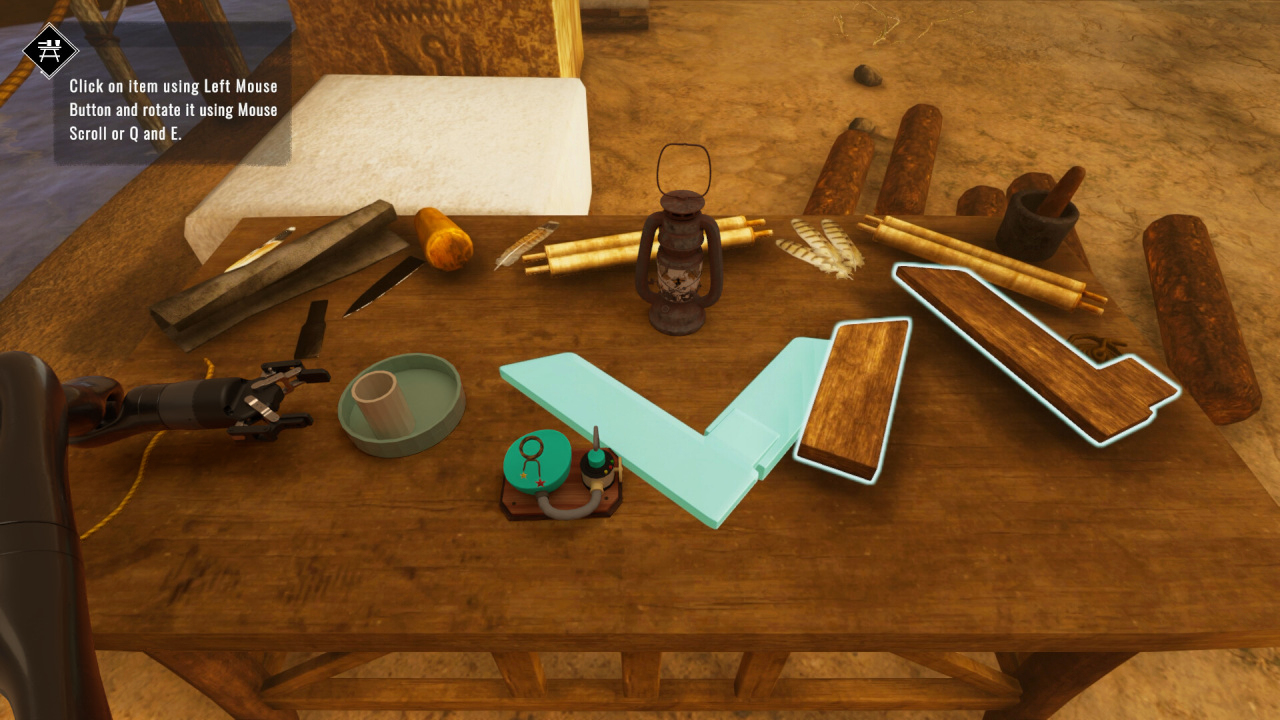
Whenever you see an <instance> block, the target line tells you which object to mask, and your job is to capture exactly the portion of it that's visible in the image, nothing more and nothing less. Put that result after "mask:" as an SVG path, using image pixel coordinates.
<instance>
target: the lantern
mask: <svg viewBox="0 0 1280 720" xmlns="http://www.w3.org/2000/svg"><path fill="white" fill-rule="evenodd" d="M669 146H682V147H683V146H687V147H698V148H701V149H703V151H704V152H705V153H706V157H707V161H708V167H709V169H708V170H709V178H708V185H707V187H706V190H705V192H704V193H703V194H700V193H699V192H696V191H693V190H691V189H690V190H689V189H675V190H670V191H667V192H665V191H663V190H662V188H661V186H660V182H659V170H660V163H661V159H662V155H663V154H664V153H663V152H664V151H665V149H666V148H668V147H669ZM655 174H656V176H655V177H656V186H657V188H658V190H659V192H660V193H661V194H662V195H661V197H660V199H659V204H660V207H661V208H662V210H660V211H655V212H652V213H651V214H648V216H647V218H645V221H644V224H643V226H642V231H641V234H640V239H639V240H640V241H639V245H638V252H637V258H636V263H635V264H636V265H635V271H634V272H635V274H634V285H635V291H636V292H637V295H638V296H639V297H640V299H642V300H643V301H644V302H646V303H648V304H651V306H650V307H649V309H648V320H649V322H650V324H651V326H652V327H653V329H655V330H657V331H658V332H660V333H662V334H664V335H668V336H673V337H674V336H675V337H682V336H689V335H691V334H694V333H696V332H698V331H699V330H700V329H702V327H703V326H704V324H705V322H706V318H707V317H706V316H707V315H706V309H708V308H710V307H712V306H714V305H716V304H717V303H718V302H719V301H720V299H721V297H722V294H723V288H724V260H723V259H724V258H723V249H722V248H723V247H722V237H721V231H720V227H719V223H718V222H717V221H716V219H714V217H713V216H712V215H711V216H710V215H708V214H705V213H702V210H703V208H704V207H705V205H706V200H705V198H704V197H705V196H707V194H708V193H709V191H710V188H711V183H712V161H711V156H710V154H709V151H708V149H707V147H705V146H704V145H702V144H700V143H699V144H698V143H688V142H669V143H666V144H665V145H664V146H663V147H662V148H661V150H660V152H659V156H658V159H657V165H656V173H655ZM657 230H658V234H657V242H658V244H659V245H658V248H657V252H656V265H657V266H656V274H657V280H656V279H655V278H653V277H652V278H650V280H649V268H650V260H651V258H652V257H651V256H652V251H653V246H654V241H655V236H656V233H657ZM704 233H705V235H704ZM705 237H706V244H707V253H708V263H709V275H710V282H709V283H710V284H709V285H710V286H709V290H708V292H707V294H705V295H700V294H699V293H698V291H699V290H700V289H701V288H702V287H703V286H702V284H701V276H702V272H703V264H704V263H703V262H704V257H705V256H704V252H703V251H704V250H703V247H702V246H703V244H704V243H705ZM689 273H691V274H692V275H693V276H694V279H693V278H692V277H690V276H688V275H689ZM664 275H667V276H668V278H670V279H666V278H665V277H664ZM674 281H676V282H674ZM681 281H682V282H681ZM655 283H656V287H658V290H659V291H658V292H656V291H652V290H651V289H650V287H649V285H652V286H654V285H655Z"/></svg>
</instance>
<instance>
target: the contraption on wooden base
mask: <svg viewBox="0 0 1280 720" xmlns="http://www.w3.org/2000/svg"><path fill="white" fill-rule="evenodd" d="M592 431H593V433H592V435H593V437H592V447H581V448H580V447H579V448H572V446H571V443H570V441H569V439H568V438H567V436H566V435H565V434H564V433H563V432H560V431H559V430H555V429H549V428H547V429H538V430H535V431H532V432H529V433H526V434H524V435H523V436H520V437H519V438H518V439H516V440H514V442H513V443H512V444H511V445H510V447H509V448H508V449H507V451H506V453H505V456H504V459H503V465H502V466H503V467H502V468H503V475H502V481H501V487H500V494H499V501H498V507H499V508H500V509H501V511H502V513H503V514H504V515H505V516H506V519H508V520H509V522H521V521H524V522H525V521H547V520H557V521H566V522H567V521H574V520H579V519H595V518H596V519H597V518H598V519H599V518H612V516H613V515H614V514H615V512H616V511H617V510H618V509H619V508H620V506H621V505H622V504H623V471H624V467H623V460H622V458H623V457H622V456H619V455H618V454H617V453H616V452H615V451H614V450H613V449H612V448H611V447H601V441H600V434H599V432H600V431H599V426H598V425H594V426H593V429H592Z"/></svg>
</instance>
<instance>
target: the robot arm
mask: <svg viewBox="0 0 1280 720" xmlns="http://www.w3.org/2000/svg"><path fill="white" fill-rule="evenodd" d="M260 368H261V370H262V372H261V375H260V376H258V377H255V378H253V379H247V378H243V377H240V376H230V377H229V376H228V377H214V378H213V377H212V378H200V379H198V378H197V379H188V380H187V379H186V380H182V381H177V382H165V383H164V382H163V383H149V384H148V383H147V384H141V385H138V386H135V387H132V388H131V389H130V390H129V391H127V393H126V394H125V390H124V387H123V385H122V384H121V382H119V381H118V380H117V379H115V378H112V377H109V376H104V375H85V376H79V377H74V378H71V379H67V380H66V381H65V380H64V381H63V382H61V380H60V379H59V377H58V375H57V374H56V372H55V371H54V369H53V368H52V366H50V365H49V363H47V362H46V361H45V360H43V359H42V358H41V357H39V356H37V355H36V354H33V353H30V352H28V351H22V350H9V351H1V352H0V695H2V697H4V698H5V700H7V702H8V704H9V706H10V708H11V710H12V714H13V717H14V720H114V717H113V715H112V711H111V708H110V704H109V701H108V696H107V694H106V691H105V687H104V684H103V679H102V674H101V672H100V667H99V662H98V658H97V653H96V648H95V643H94V633H93V628H92V623H91V615H90V609H89V599H88V591H87V590H88V589H87V581H86V569H85V563H84V562H85V561H84V556H83V549H82V543H81V537H80V533H79V528H78V523H77V518H76V514H75V508H74V502H73V497H72V492H71V491H72V489H71V484H70V471H69V450H70V449H69V447H72V448H76V449H81V450H82V449H83V450H89V449H96V448H101V447H104V446H109V445H111V444H115V443H117V442H120V441H123V440H126V439H128V438H130V437H133V436H137V435H141V434H146V433H152V432H153V433H155V432H166V431H167V432H168V431H206V430H220V429H226V433H227V434H228V435H229V437H230V438H231V439H232V440H233V441H234V443H236V444H255V443H256V444H258V443H259V444H260V443H275V442H276V441H277V440H278V439H279V436H278V435H279V434H280V433H283V432H285V431H286V430H295V429H297V430H298V429H305V428H307V427H311V426H313V423H314V422H315V421H314V418H313V416H312V415H311V414H310V413H309V412H307V411H305V412H292V413H281V416H280V415H279V414H277V413H278V412H279V410H280V408H281V403H282V402H283V401H284V399H285V397H286V396H287V395H289V394H291V393H293V392H294V391H295V389H296V388H297V387H299V386H301V385H304V384H308V385H309V384H322V383H323V384H324V383H325V384H326V383H330V382H331V379H332V376H331V375H330V373H329V371H328V370H327V369H326V368H321V367H319V368H306V367H305V365H304V363H303V361H302V360H301V359H300V358H299V359H287V360H278V361H277V360H276V361H270V362H269V361H268V362H267V361H266V362H263V363H261V364H260ZM295 377H296V378H295ZM293 378H295V379H293ZM291 379H293V380H291ZM290 380H291V381H290ZM279 382H282V383H283V385H284V386H283V387H281V386H280V385H279ZM277 383H278V384H277ZM260 421H262V422H263V423H264V424H260V425H256V423H258V422H260ZM254 424H255V425H254Z"/></svg>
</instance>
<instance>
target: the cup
mask: <svg viewBox="0 0 1280 720" xmlns="http://www.w3.org/2000/svg"><path fill="white" fill-rule="evenodd" d="M351 393H352V397H353V399H354V400H355V402H356V404H357V406H358V407H359V409H360V411H361V413H362V414H363V416H364V418H365V420H366V422H367V423H368V425H369V427H370V429H371V430H372V432H373V434H374V435H375V437H376V438H377V439H378V440H387V439H397V438H401V437H405V436H408V435H410V434H411V433H412V431H413V430H414V428H415V418H414V416H413V413H412V411H411V409H410V407H409V405H408V403H407V400H406V398H405V396H404V394H403V392H402V390H401V388H400V385H399V383H398V381H397V379H396V377H395V376H394V375H393V374H392V373H391V372H388V371H383V370H382V371H373V372H370V373H367V374H365V375H364V376H362V377H360V378H359V379H358V380H357V381H356V382H355V383H354V385H353V387H352V390H351Z"/></svg>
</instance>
